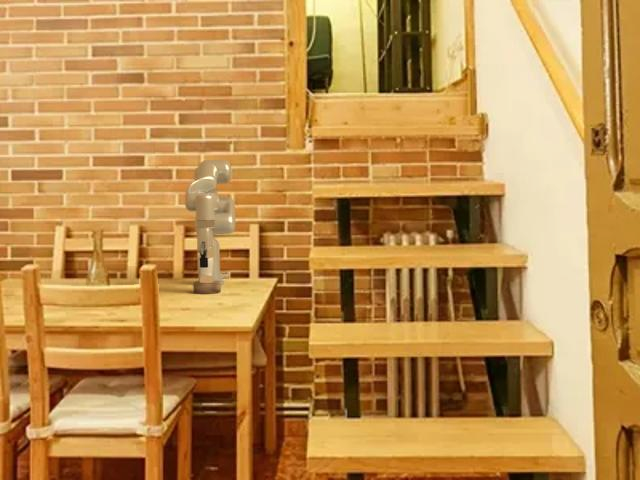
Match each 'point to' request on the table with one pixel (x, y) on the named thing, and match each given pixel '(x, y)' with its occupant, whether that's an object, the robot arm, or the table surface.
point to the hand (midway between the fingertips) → (206, 266)
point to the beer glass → (207, 273)
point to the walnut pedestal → (206, 287)
